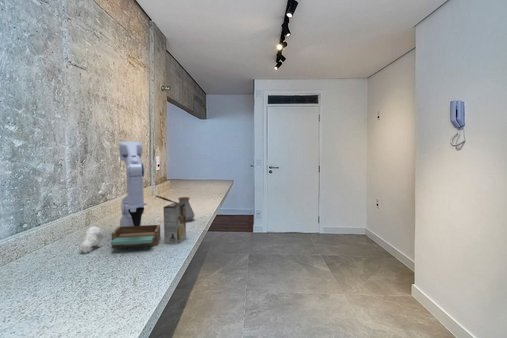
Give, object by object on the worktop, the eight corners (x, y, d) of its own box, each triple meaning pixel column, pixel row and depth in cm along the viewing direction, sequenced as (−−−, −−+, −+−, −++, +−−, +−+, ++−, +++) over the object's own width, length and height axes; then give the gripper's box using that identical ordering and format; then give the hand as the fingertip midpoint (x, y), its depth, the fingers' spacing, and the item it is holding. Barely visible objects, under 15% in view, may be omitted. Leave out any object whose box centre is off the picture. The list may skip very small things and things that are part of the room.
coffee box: (173, 237, 146) (172, 202, 145) (186, 238, 145) (185, 203, 143) (163, 243, 137) (163, 206, 136) (177, 244, 136) (176, 207, 134)
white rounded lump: (103, 224, 134) (90, 235, 122) (104, 243, 136) (92, 256, 124) (87, 225, 134) (73, 235, 122) (89, 244, 135) (75, 256, 123)
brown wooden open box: (118, 239, 142) (118, 226, 142) (160, 237, 146) (160, 224, 145) (112, 248, 131) (111, 233, 130) (157, 245, 134) (157, 231, 133)
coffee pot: (193, 217, 186) (193, 192, 185) (195, 222, 176) (195, 195, 174) (155, 220, 180) (154, 194, 179) (155, 224, 169) (154, 197, 168)
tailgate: (115, 238, 130) (110, 241, 124) (153, 236, 133) (151, 239, 126) (115, 242, 130) (110, 246, 124) (153, 240, 133) (151, 244, 126)
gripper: (143, 195, 123) (144, 230, 124) (148, 190, 137) (149, 221, 138) (124, 196, 121) (125, 230, 122) (131, 190, 136) (132, 221, 137)
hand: (136, 225), depth 130 cm, fingers closed
